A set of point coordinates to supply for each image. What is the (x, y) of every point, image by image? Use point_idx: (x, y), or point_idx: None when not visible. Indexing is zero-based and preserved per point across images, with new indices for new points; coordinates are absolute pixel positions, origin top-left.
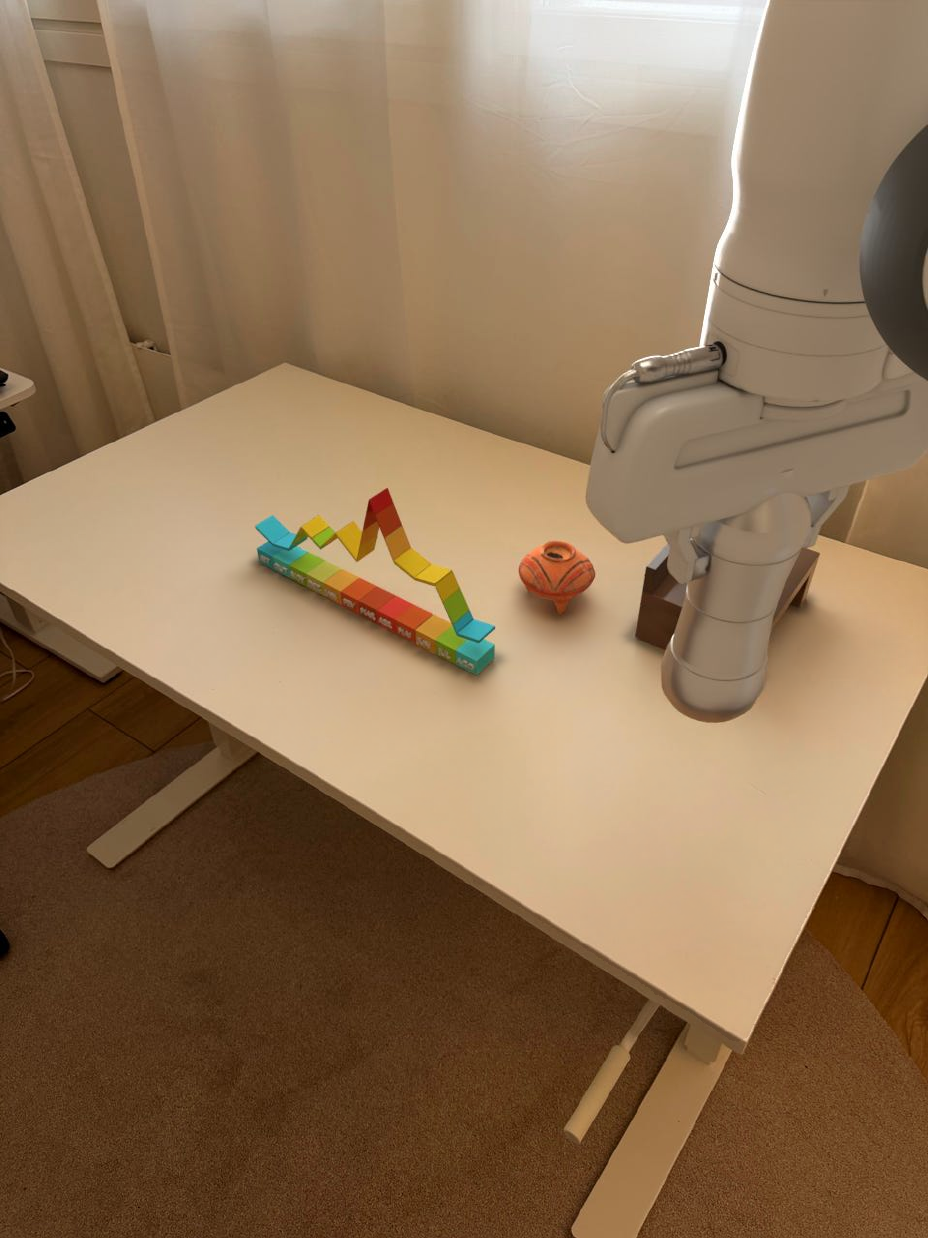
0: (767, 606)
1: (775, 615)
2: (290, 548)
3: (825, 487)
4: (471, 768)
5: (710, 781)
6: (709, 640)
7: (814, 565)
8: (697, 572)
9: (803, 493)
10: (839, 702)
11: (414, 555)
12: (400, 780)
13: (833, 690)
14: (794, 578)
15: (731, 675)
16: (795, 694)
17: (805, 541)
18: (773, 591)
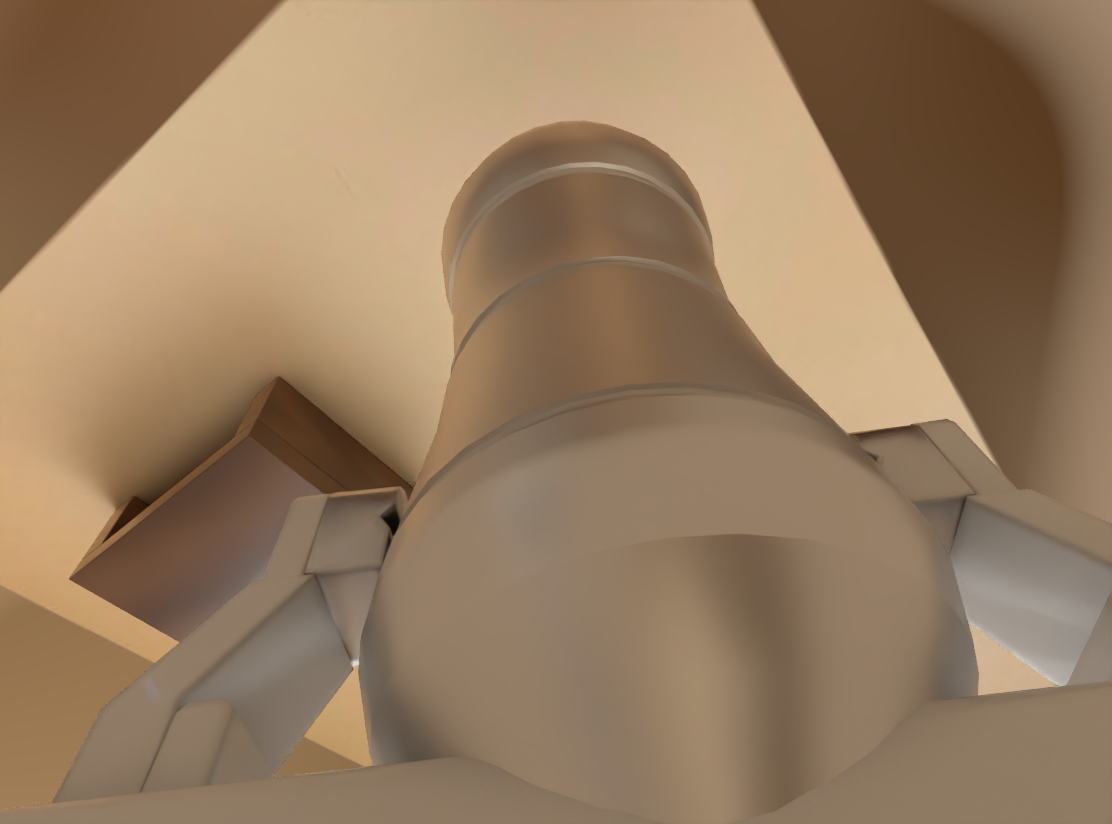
0: (574, 284)
1: (202, 475)
2: None
3: (298, 816)
4: (756, 332)
5: (416, 217)
6: (709, 266)
7: (87, 558)
8: (908, 447)
9: (495, 791)
10: (131, 310)
11: None
12: (857, 337)
13: (133, 335)
14: (137, 539)
15: (620, 176)
16: (204, 342)
17: (346, 515)
18: (573, 316)
